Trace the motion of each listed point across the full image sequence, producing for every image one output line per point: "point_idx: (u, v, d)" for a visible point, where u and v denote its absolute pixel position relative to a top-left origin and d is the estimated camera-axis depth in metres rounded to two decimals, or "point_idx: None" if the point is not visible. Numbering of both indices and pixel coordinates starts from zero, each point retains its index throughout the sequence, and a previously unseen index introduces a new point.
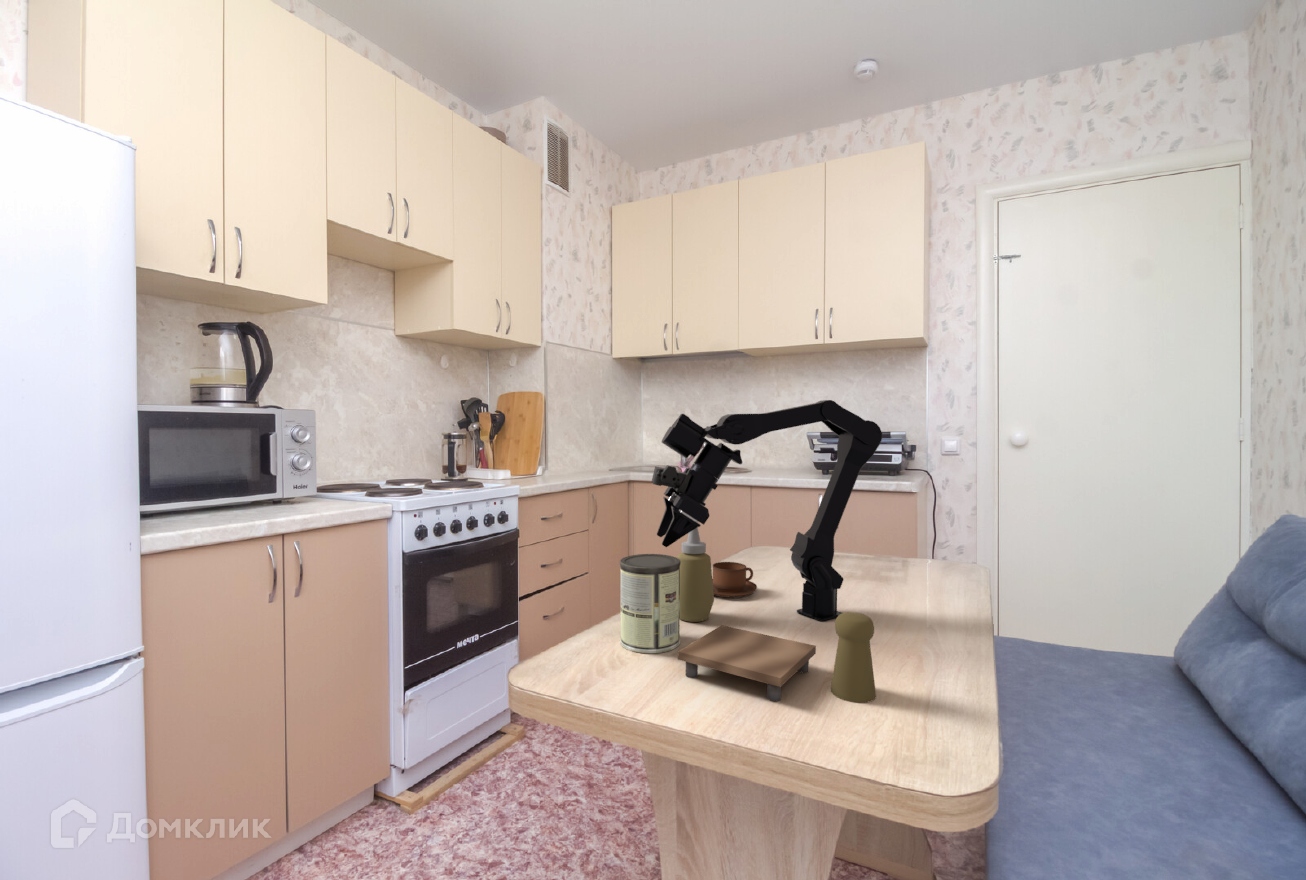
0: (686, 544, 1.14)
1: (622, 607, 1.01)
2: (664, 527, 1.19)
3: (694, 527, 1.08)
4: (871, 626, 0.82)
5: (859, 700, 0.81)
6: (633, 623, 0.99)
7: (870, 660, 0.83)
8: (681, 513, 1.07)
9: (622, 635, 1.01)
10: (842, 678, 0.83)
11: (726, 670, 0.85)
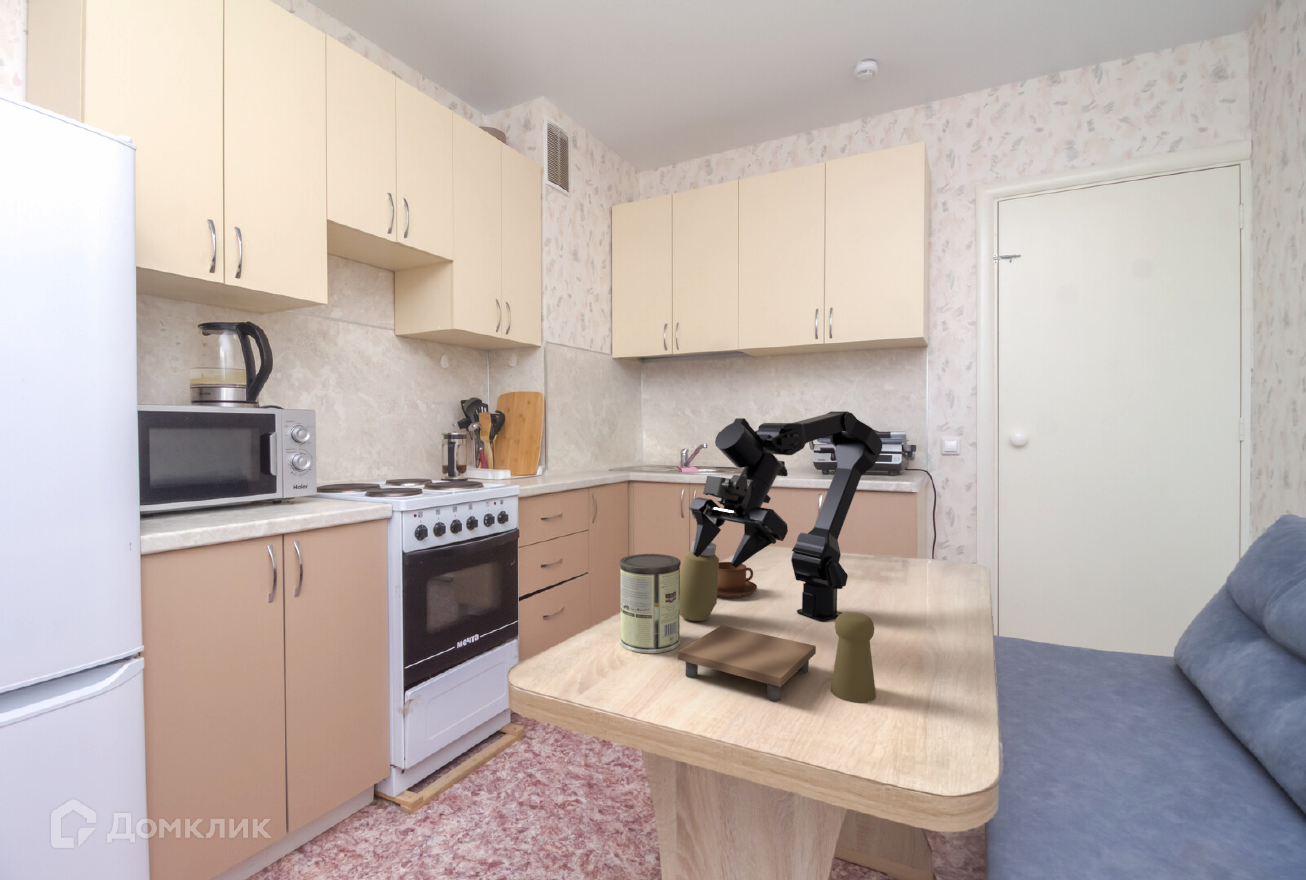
0: None
1: (622, 607, 1.01)
2: (701, 545, 1.05)
3: (767, 544, 0.98)
4: (871, 626, 0.82)
5: (859, 700, 0.81)
6: (633, 623, 0.99)
7: (870, 660, 0.83)
8: (763, 529, 0.96)
9: (622, 635, 1.01)
10: (842, 678, 0.83)
11: (726, 670, 0.85)
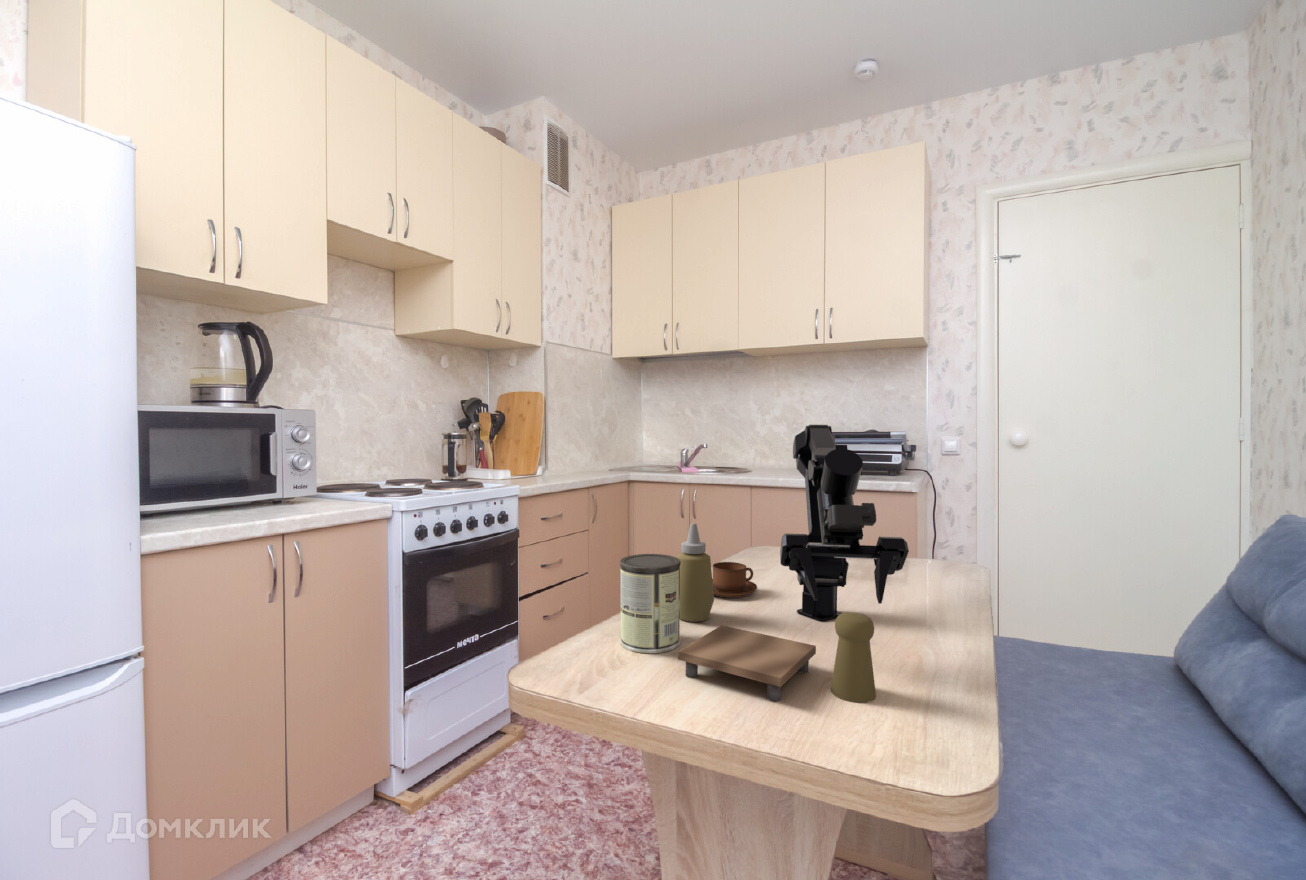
0: (686, 544, 1.14)
1: (622, 607, 1.01)
2: None
3: None
4: (871, 626, 0.82)
5: (859, 700, 0.81)
6: (633, 623, 0.99)
7: (870, 660, 0.83)
8: None
9: (622, 635, 1.01)
10: (842, 678, 0.83)
11: (726, 670, 0.85)
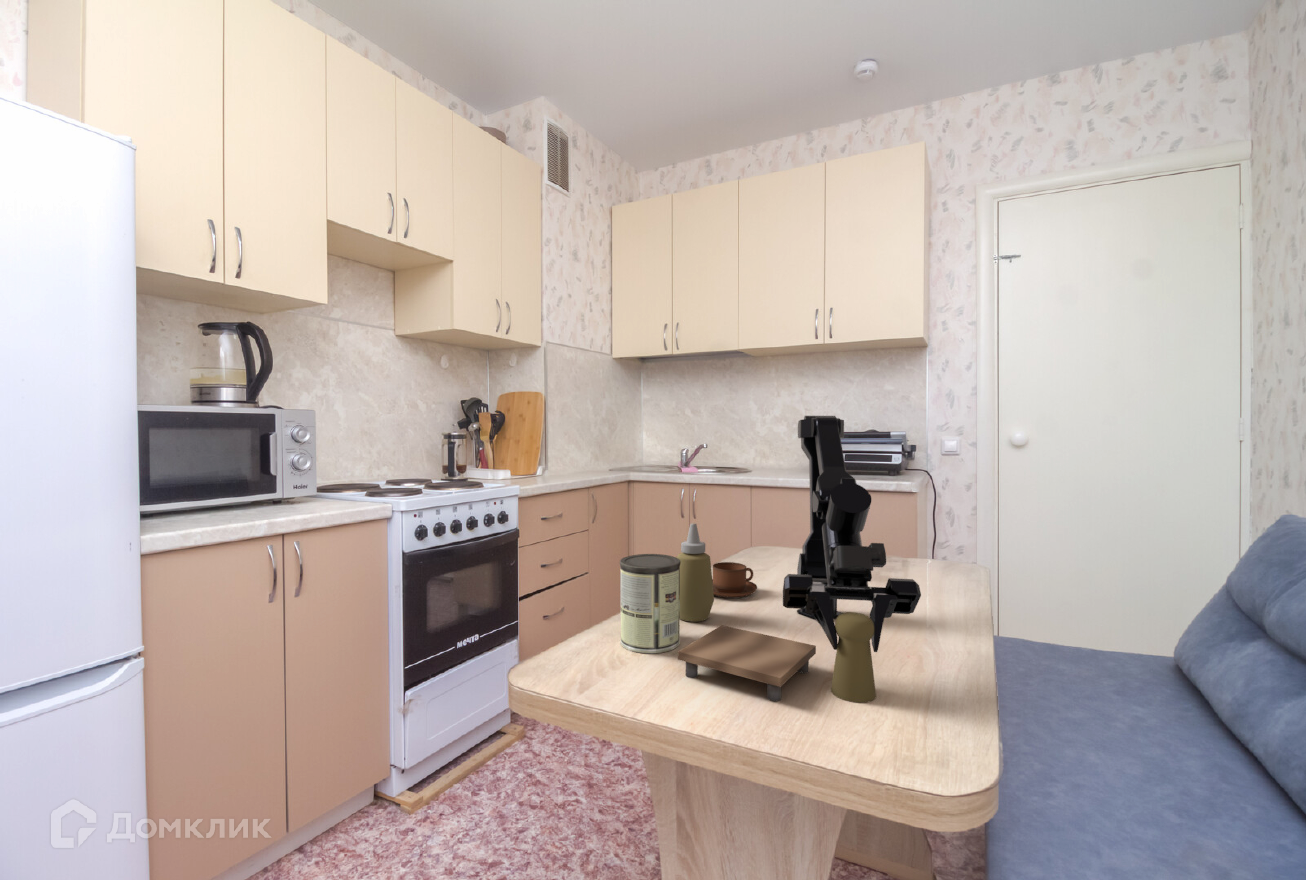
0: (686, 544, 1.14)
1: (622, 607, 1.01)
2: None
3: None
4: (871, 626, 0.82)
5: (859, 700, 0.81)
6: (633, 623, 0.99)
7: (870, 660, 0.83)
8: None
9: (622, 635, 1.01)
10: (842, 678, 0.83)
11: (726, 670, 0.85)
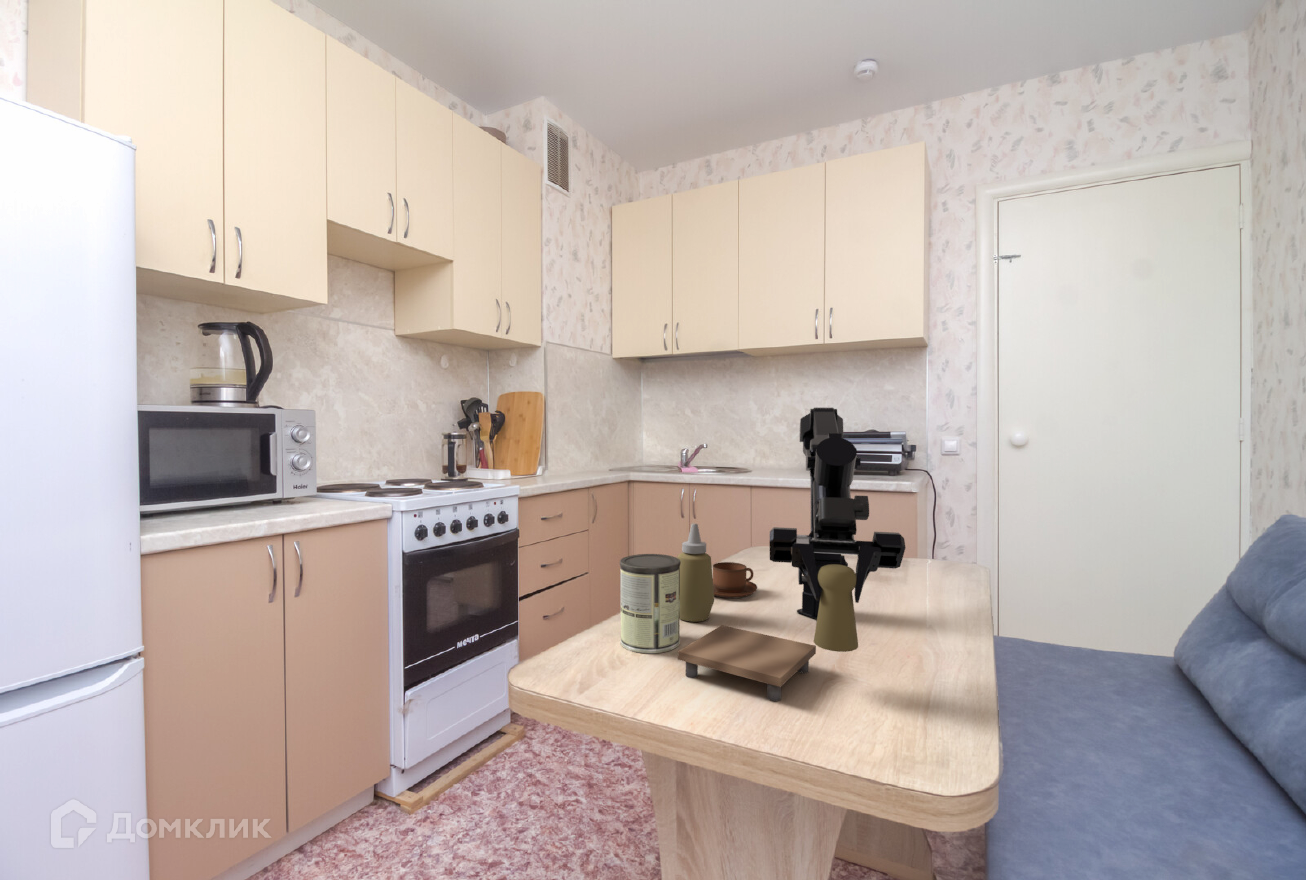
0: (687, 544, 1.14)
1: (622, 607, 1.01)
2: None
3: (868, 573, 0.88)
4: (853, 576, 0.83)
5: (839, 649, 0.82)
6: (633, 623, 0.99)
7: (852, 610, 0.83)
8: None
9: (622, 635, 1.01)
10: (824, 628, 0.83)
11: (726, 670, 0.85)
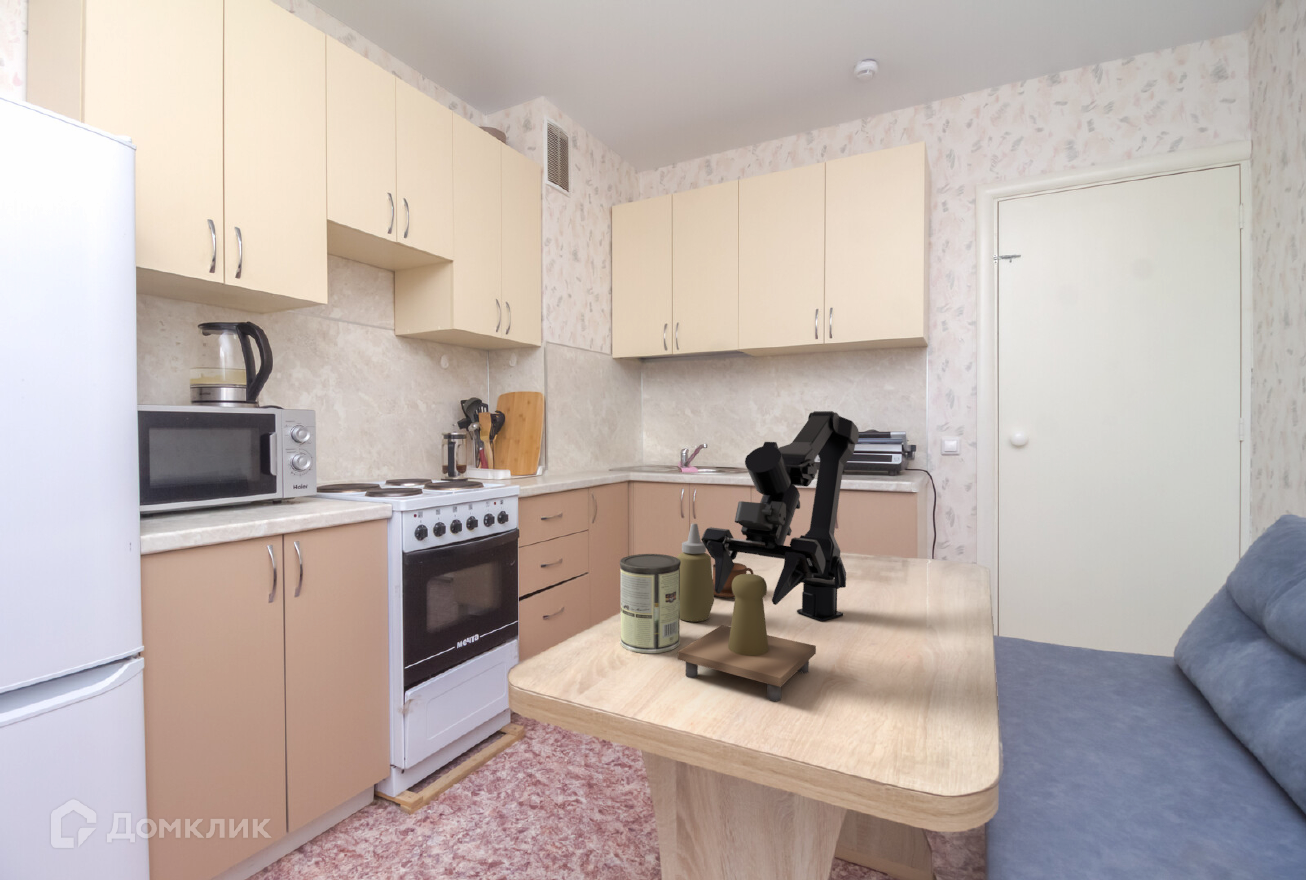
0: (686, 544, 1.14)
1: (622, 607, 1.01)
2: (722, 581, 0.93)
3: (803, 579, 0.90)
4: (757, 586, 0.88)
5: (741, 652, 0.88)
6: (633, 623, 0.99)
7: (757, 618, 0.88)
8: (807, 561, 0.88)
9: (622, 635, 1.01)
10: (732, 631, 0.90)
11: (726, 670, 0.85)
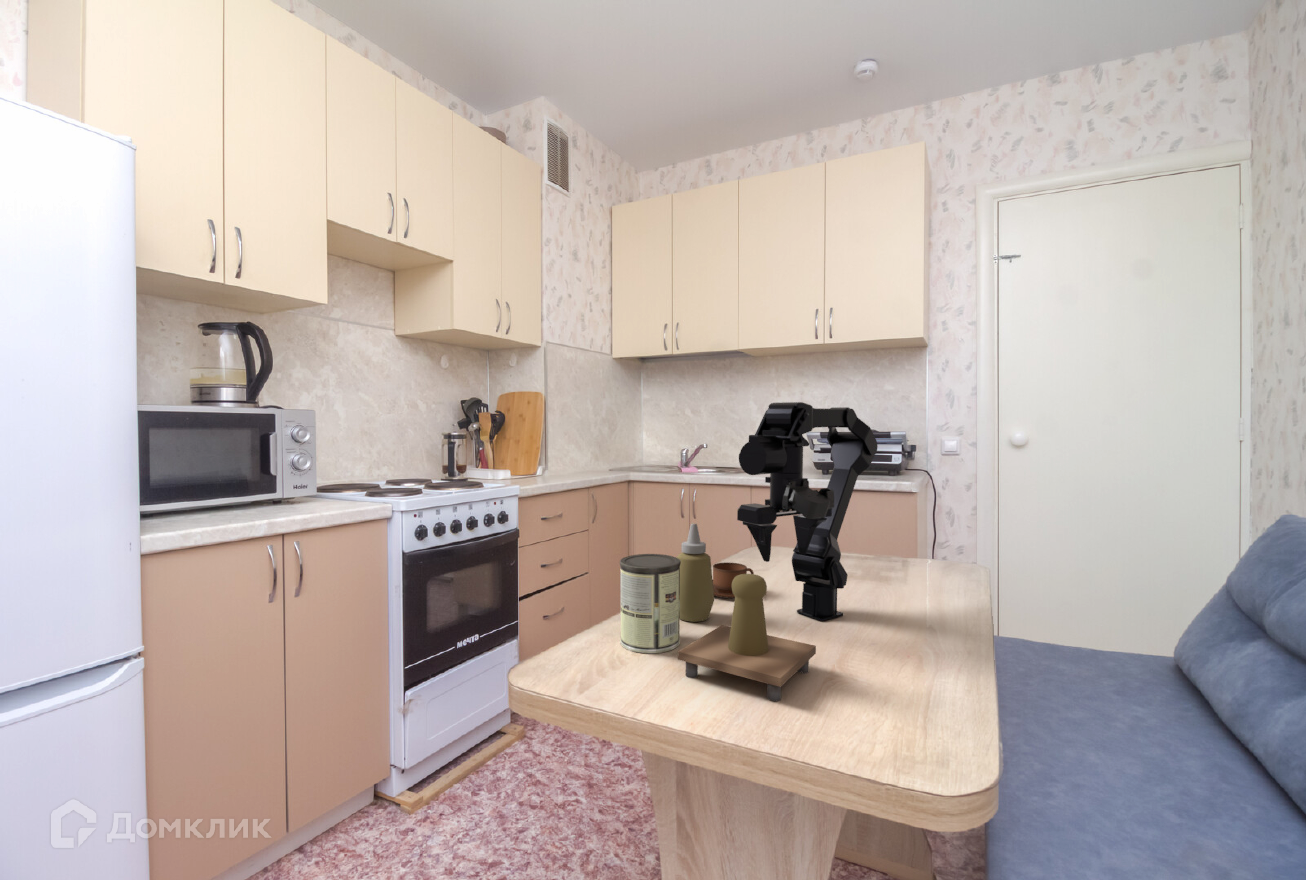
0: (686, 544, 1.14)
1: (622, 607, 1.01)
2: None
3: None
4: (757, 586, 0.88)
5: (741, 652, 0.88)
6: (633, 623, 0.99)
7: (757, 618, 0.88)
8: (820, 517, 1.12)
9: (622, 635, 1.01)
10: (732, 631, 0.90)
11: (726, 670, 0.85)
